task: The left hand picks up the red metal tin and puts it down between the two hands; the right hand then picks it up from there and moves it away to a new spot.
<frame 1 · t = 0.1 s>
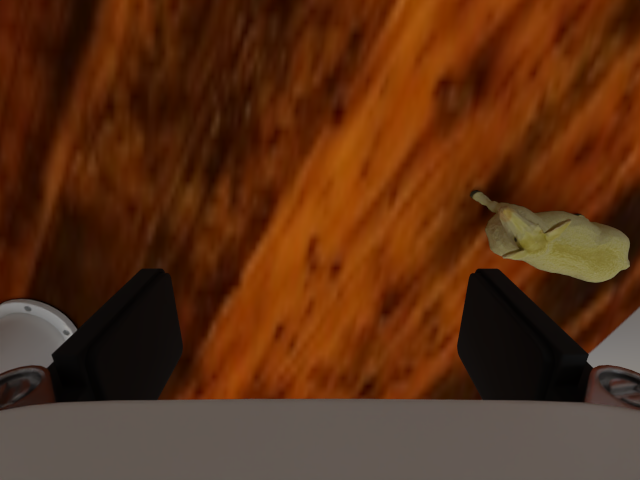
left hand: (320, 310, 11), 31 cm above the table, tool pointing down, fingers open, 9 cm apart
toy: (509, 215, 43), on the table
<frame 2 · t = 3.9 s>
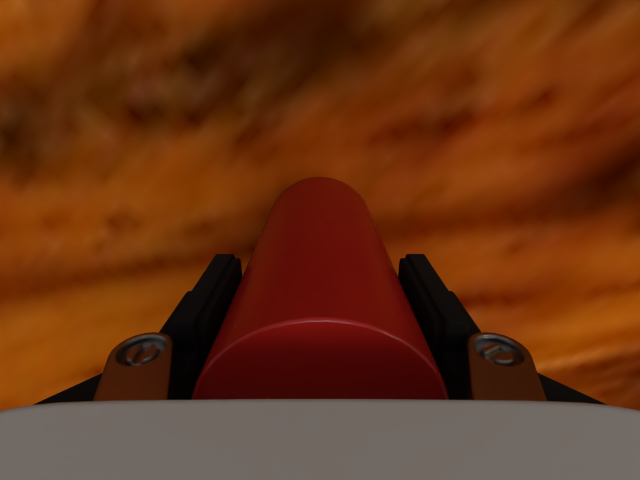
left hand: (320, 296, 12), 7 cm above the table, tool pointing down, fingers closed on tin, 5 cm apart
tin: (320, 227, 18), on the table, touching left hand
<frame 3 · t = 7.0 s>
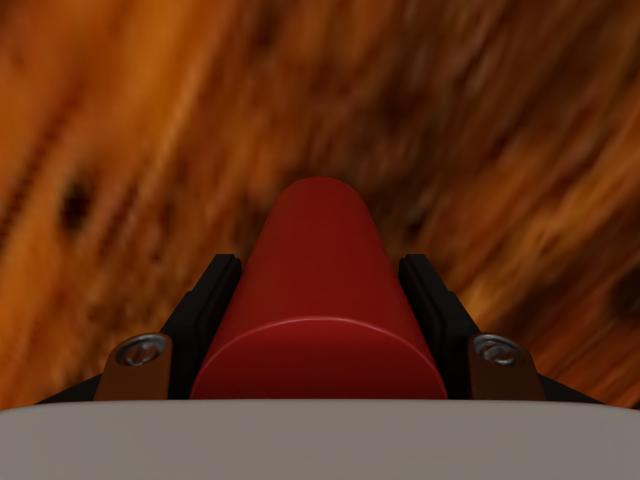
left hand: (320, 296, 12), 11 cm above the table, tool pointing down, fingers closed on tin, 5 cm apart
tin: (319, 226, 18), point 4 cm above the table, touching left hand
when the left hand's fingers open (8 cm above the table, at t = 10.3 s): tin drops 2 cm, on the table.
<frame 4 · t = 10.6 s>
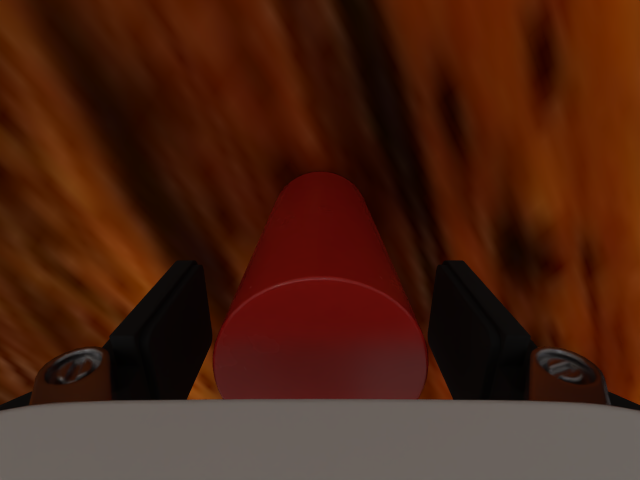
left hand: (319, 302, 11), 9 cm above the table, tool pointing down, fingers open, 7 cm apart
tin: (320, 218, 20), on the table
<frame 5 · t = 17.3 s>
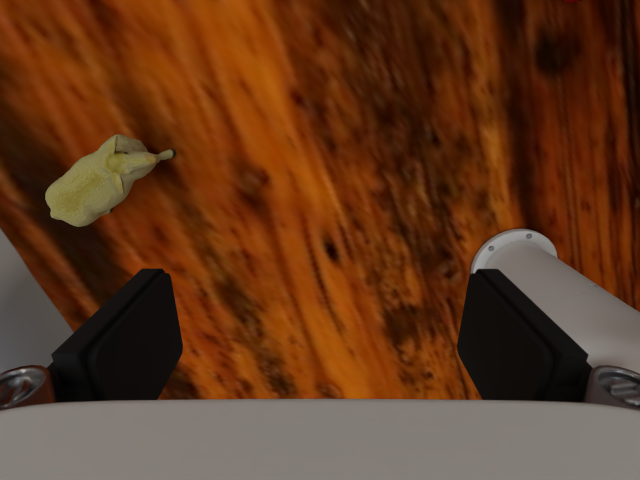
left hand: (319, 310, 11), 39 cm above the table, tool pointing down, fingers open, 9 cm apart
toy: (137, 166, 49), on the table
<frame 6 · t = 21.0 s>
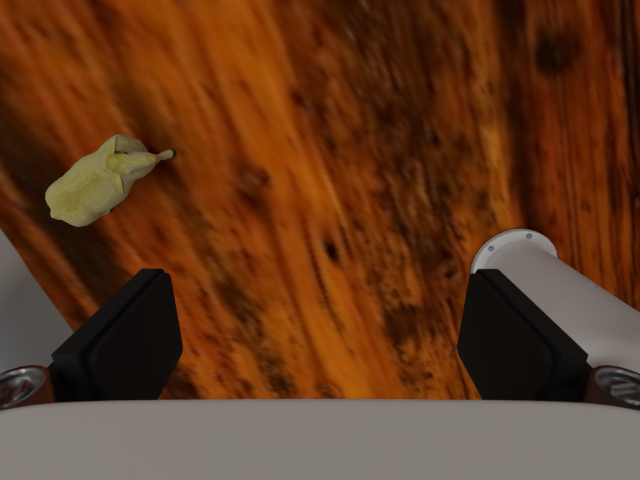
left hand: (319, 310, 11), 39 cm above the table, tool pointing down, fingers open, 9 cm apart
toy: (137, 166, 49), on the table
when the right hand's fingers open (8 cm above the table, at t = 25.1 s): tin drops 2 cm, on the table.
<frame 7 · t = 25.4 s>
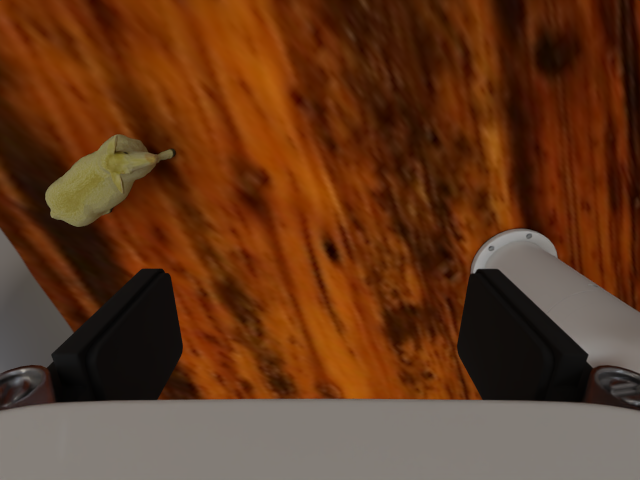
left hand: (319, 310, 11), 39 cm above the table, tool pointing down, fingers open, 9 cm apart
toy: (137, 166, 49), on the table
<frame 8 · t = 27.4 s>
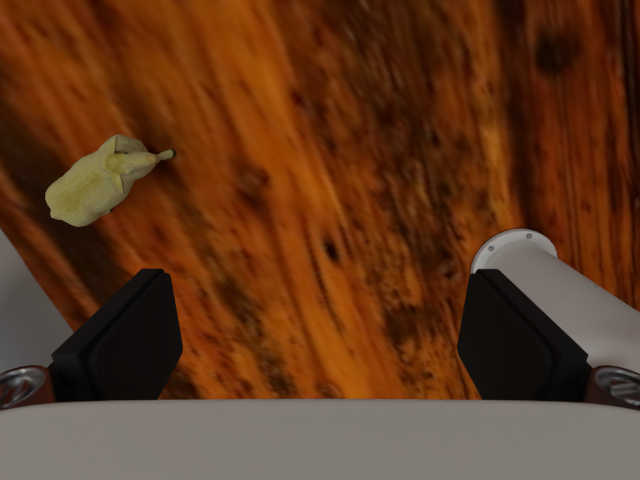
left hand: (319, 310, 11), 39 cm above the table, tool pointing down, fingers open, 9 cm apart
toy: (137, 166, 49), on the table
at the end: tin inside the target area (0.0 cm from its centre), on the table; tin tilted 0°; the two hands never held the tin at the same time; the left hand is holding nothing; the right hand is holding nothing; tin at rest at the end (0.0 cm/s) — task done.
